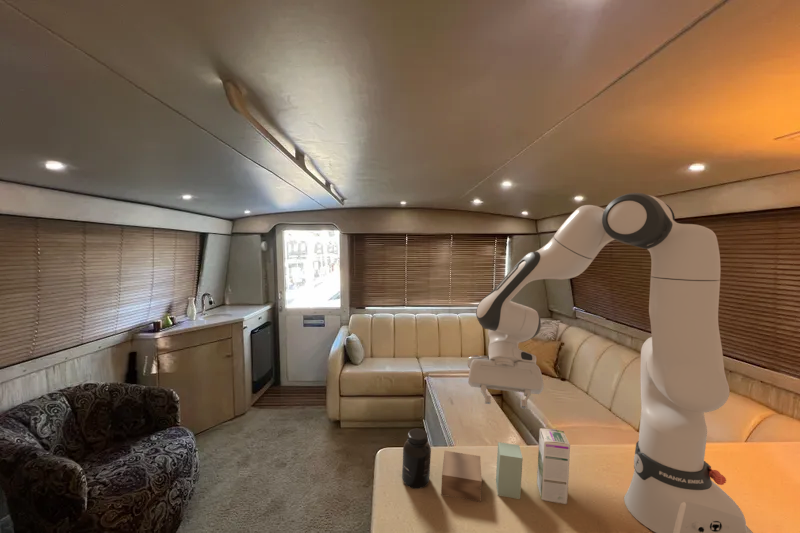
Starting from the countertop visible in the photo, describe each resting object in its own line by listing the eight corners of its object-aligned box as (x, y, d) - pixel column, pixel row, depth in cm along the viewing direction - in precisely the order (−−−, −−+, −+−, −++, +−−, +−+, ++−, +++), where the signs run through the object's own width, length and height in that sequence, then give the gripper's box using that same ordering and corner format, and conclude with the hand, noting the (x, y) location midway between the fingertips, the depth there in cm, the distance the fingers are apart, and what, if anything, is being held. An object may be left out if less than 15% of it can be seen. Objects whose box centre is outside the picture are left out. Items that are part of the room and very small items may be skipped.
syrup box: (567, 505, 76) (572, 444, 74) (540, 500, 77) (544, 440, 76) (560, 487, 81) (565, 430, 80) (535, 482, 82) (539, 426, 81)
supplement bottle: (397, 484, 81) (398, 436, 80) (408, 466, 87) (410, 422, 86) (423, 494, 78) (425, 445, 77) (433, 475, 84) (435, 430, 83)
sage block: (516, 483, 82) (519, 445, 81) (520, 499, 77) (522, 458, 76) (495, 480, 83) (498, 442, 82) (497, 495, 78) (500, 454, 77)
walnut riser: (479, 474, 85) (480, 456, 84) (480, 501, 76) (481, 481, 75) (443, 468, 86) (444, 450, 86) (441, 494, 78) (441, 474, 77)
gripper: (468, 349, 98) (466, 396, 90) (542, 356, 94) (547, 406, 86) (467, 359, 103) (466, 404, 94) (537, 365, 99) (542, 414, 90)
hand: (505, 405), depth 90 cm, fingers open, 8 cm apart
